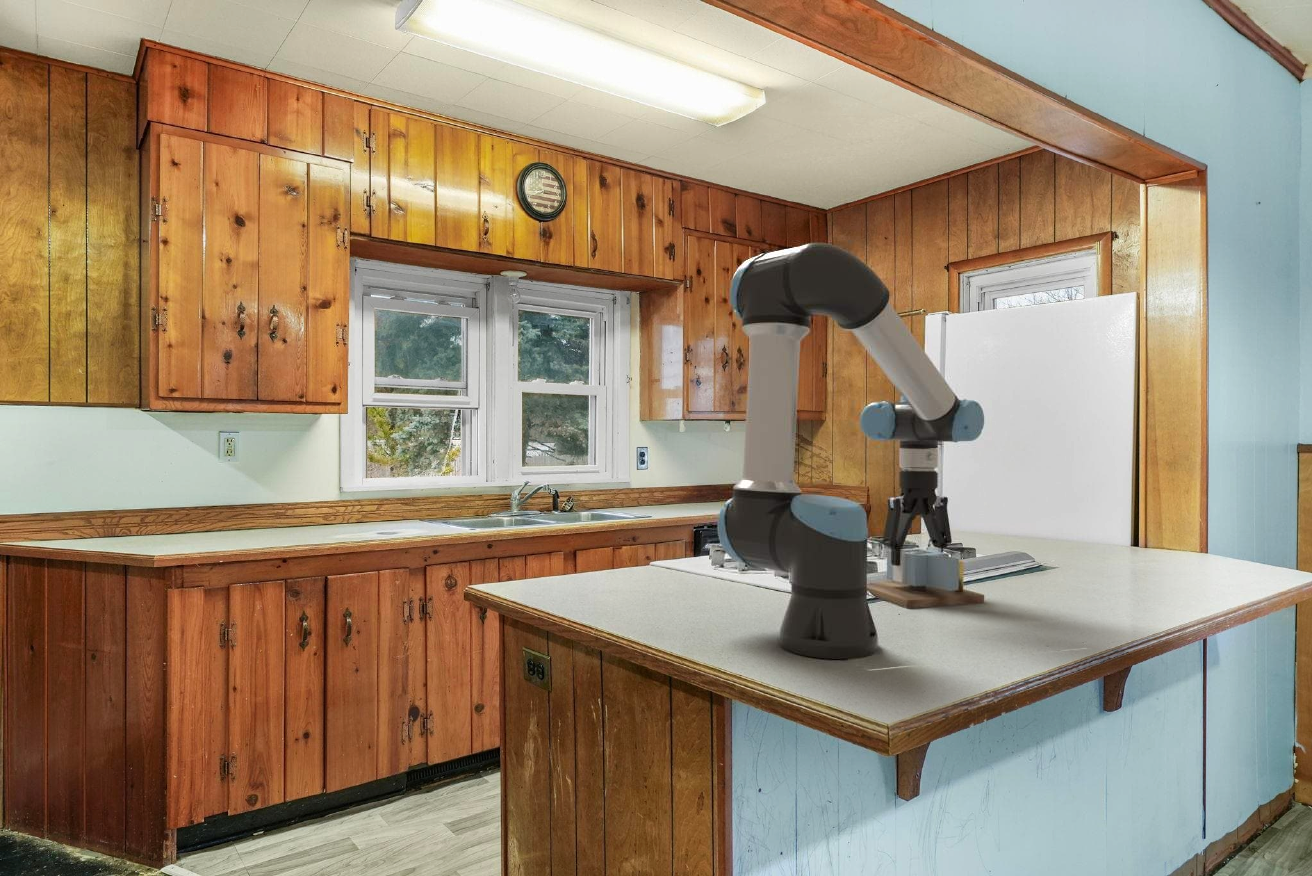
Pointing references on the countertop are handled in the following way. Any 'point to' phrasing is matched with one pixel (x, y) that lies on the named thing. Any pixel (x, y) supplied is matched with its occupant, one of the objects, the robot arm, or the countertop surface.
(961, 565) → the dowel
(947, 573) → the pale blue notched block
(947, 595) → the post base
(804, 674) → the countertop surface
